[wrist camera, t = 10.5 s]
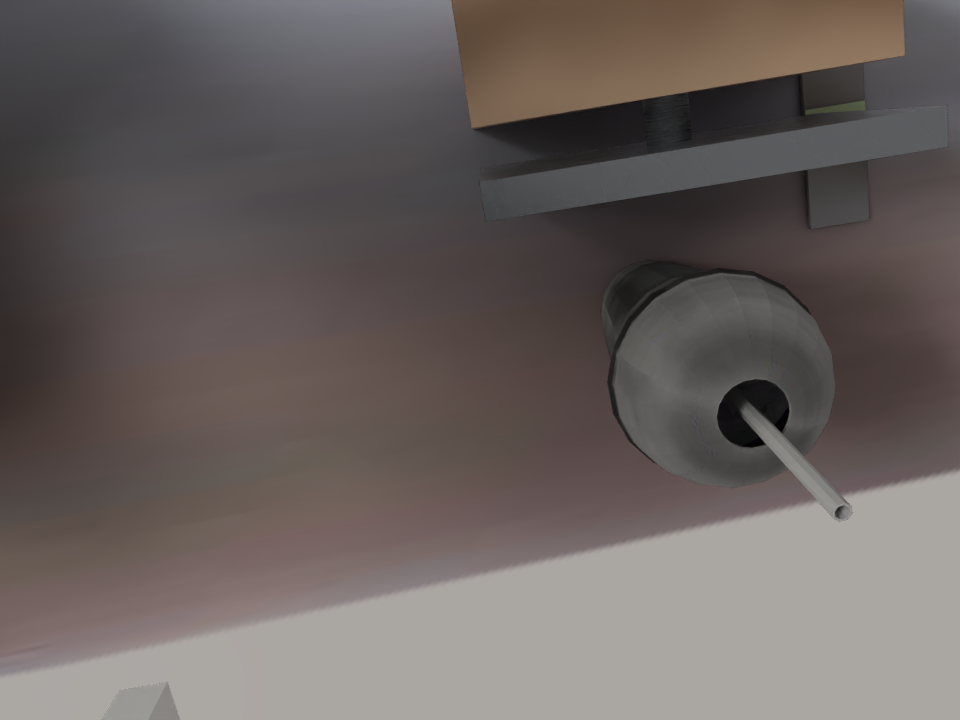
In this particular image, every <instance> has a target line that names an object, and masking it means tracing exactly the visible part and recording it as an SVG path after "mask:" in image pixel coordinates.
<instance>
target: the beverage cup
mask: <svg viewBox="0 0 960 720" xmlns="http://www.w3.org/2000/svg"><path fill="white" fill-rule="evenodd" d="M601 314H602V318H601V319H602V324H603V330H604V335H605V339H606V343H607V347H608V351H609V355H610V359H611V361H610V368H609V375H608V382H607V383H608V388H609V393H610V399H611V404H612V409H613V414H614V416H615V418H616V419H617V421H618V423H619V425H620V426H621V428H622V430H623V432H624V433H625V435H626V437H627V439H628V440H629V442H630V443H632V444H633V445H634V446H635V447H636V448H637V449H638V450H640V451H641V452H642V453H643V454H644V455H645V456H646V457H648V458H649V459H650V460H651V461H652V462H654V463H656V464H658V465H659V466H660V467H661V468H663V469H664V470H666V471H667V472H669V473H672V474H674V475H676V476H679V477H681V478H684V479H686V480H688V481H691V482H693V483H696V484H700V485H709V486H719V487H730V488H734V487H739V486H745V485H750V484H755V483H760V482H764V481H766V480H768V479H770V478H772V477H773V476H775V475H777V474H779V473H781V472H783V471H785V470H787V469H789V470H790V471H791V472H792V473H793V474H794V475H795V476H796V478H797V479H798V480H799V481H800V482H801V483H802V484H803V485H804V486H805V487H806V489H807V490H808V491H809V492H810V493H811V494H812V495H813V496H814V497H815V499H816V500H817V501H818V502H819V503H820V504H821V505H822V506H823V507H824V509H825V510H826V511H827V512H828V513H829V514H830V515H831V516H832V517H833V518H834V519H836V520H838V521H843V520H847V519H848V518H849V517H850V516H851V514H852V507H851V506H850V504H849V503H848V502H847V501H846V500H845V499H844V498H843V497H842V496H841V495H840V494H839V493H838V492H837V491H836V490H835V489H834V487H833V486H832V485H831V484H830V483H829V482H828V481H827V480H826V479H825V478H824V477H823V476H822V475H821V474H820V473H819V472H818V471H817V470H816V469H815V468H814V467H813V466H812V465H811V463H810V462H809V461H808V460H807V459H806V458H805V457H804V455H805V454H806V453H807V452H808V451H809V450H810V449H811V448H812V447H813V446H814V445H815V443H816V441H817V439H818V438H819V436H820V434H821V432H822V431H823V429H824V427H825V426H826V424H827V422H828V420H829V417H830V413H831V408H832V404H833V399H834V395H835V390H836V389H835V379H834V370H833V361H832V353H831V351H830V349H829V347H828V345H827V343H826V341H825V339H824V337H823V335H822V333H821V331H820V329H819V327H818V325H817V323H816V321H815V319H814V318H813V317H812V316H811V314H810V312H809V310H808V308H807V307H806V306H805V305H804V304H803V303H802V302H800V301H799V300H798V299H797V298H796V297H795V296H794V295H793V294H792V293H791V292H790V291H789V290H788V289H787V288H786V287H785V286H784V285H781V284H779V283H777V282H775V281H773V280H770V279H768V278H766V277H764V276H762V275H759V274H757V273H755V272H752V271H742V270H732V269H722V268H716V269H712V270H707V271H703V270H700V269H696V268H692V267H689V266H685V265H681V264H677V263H674V262H664V261H653V260H648V261H643V262H638V263H634V264H632V265H630V266H629V267H627V268H625V269H623V270H622V271H620V272H619V273H618V274H617V275H616V276H615V277H614V278H613V280H612V281H611V282H610V283H609V285H608V287H607V289H606V291H605V293H604V295H603V301H602V308H601Z"/></svg>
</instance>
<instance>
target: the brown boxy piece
mask: <svg viewBox="0 0 960 720" xmlns="http://www.w3.org/2000/svg"><path fill="white" fill-rule="evenodd" d="M451 1H452V7H453V13H454V20H455V26H456V32H457V39H458V45H459V51H460V58H461V64H462V70H463V77H464V83H465V89H466V96H467V102H468V108H469V115H470V121H471V127H472V129H479V128H485V127H491V126H497V125H503V124H509V123H515V122H521V121H527V120H533V119H539V118H545V117H551V116H557V115H563V114H569V113H575V112H581V111H587V110H593V109H599V108H605V107H610V106H615V105H619V104H624V103H629V102H634V101H639V100H645V99H651V98H657V97H663V96H669V95H675V94H681V93H687V92H688V94H689V93H695V92H701V91H707V90H713V89H719V88H725V87H731V86H737V85H743V84H749V83H755V82H761V81H766V80H772V79H778V78H784V77H790V76H796V75H800V90H801V107H802V116H803V115H809V114H815V113H829V112H845V111H862V110H866V100H864V76H863V63H867V62H872V61H878V60H883V59H889V58H894V57H900V56H905V45H904V9H903V0H451ZM805 174H806V191H807V208H808V225H809V229H816V228H822V227H828V226H834V225H841V224H847V223H853V222H860V221H866V220H869V200H868V175H867V160H864V161H858V162H852V163H845V164H839V165H833V166H827V167H821V168H815V169H808V170H805Z"/></svg>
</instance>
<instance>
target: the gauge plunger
mask: <svg viewBox="0 0 960 720" xmlns="http://www.w3.org/2000/svg"><path fill="white" fill-rule="evenodd" d="M642 101H643V111H644V120H645V130H646V139H647V141H645V142H639V143H633V144H627V145H621V146H615V147H609V148H603V149H597V150H591V151H585V152H579V153H573V154H567V155H561V156H555V157H549V158H543V159H536V160H530V161H524V162H518V163H512V164H506V165H500V166H494V167H488V168H482V169H480V178H479V183H480V190H481V196H482V202H483V209H484V215H485V221H486V222H488V221H494V220H500V219H507V218H513V217H519V216H525V215H531V214H537V213H543V212H550V211H556V210H562V209H568V208H574V207H580V206H587V205H593V204H599V203H605V202H611V201H617V200H624V199H630V198H636V197H642V196H648V195H654V194H661V193H667V192H673V191H679V190H685V189H691V188H698V187H704V186H710V185H716V184H722V183H728V182H734V181H741V180H747V179H753V178H759V177H765V176H771V175H778V174H784V173H790V172H796V171H802V170H808V169H815V168H821V167H827V166H833V165H839V164H845V163H852V162H858V161H864V160H870V159H876V158H882V157H889V156H895V155H901V154H907V153H913V152H919V151H925V150H932V149H938V148H944V147H948V105H946V106H929V107H912V108H896V109H879V110H862V111H845V112H829V113H815V114H809V115H803V116H797V117H791V118H785V119H779V120H773V121H767V122H761V123H755V124H748V125H742V126H736V127H730V128H724V129H718V130H712V131H706V132H700V133H694V134H692V133H691V123H690V112H689V101H688V92H687V93H681V94H675V95H669V96H663V97H657V98H651V99H645V100H642Z"/></svg>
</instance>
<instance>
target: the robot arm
mask: <svg viewBox="0 0 960 720" xmlns="http://www.w3.org/2000/svg"><path fill="white" fill-rule="evenodd" d="M102 720H180V718H179V715H178V713H177V709H176V706H175V703H174V700H173V697H172V694H171V691H170V688H169V685H168V682H165V683H159V684H153V685H148V686H142V687H136V688H130V689H124V690H119V692H118V693H117V695H116V697H115V698H114V700H113V702H112V703H111V705H110V707H109V708H108V710H107V711H106V713H105V715H104V716H103V718H102Z"/></svg>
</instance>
